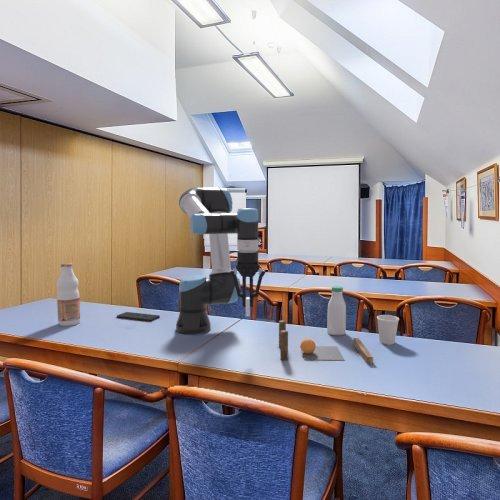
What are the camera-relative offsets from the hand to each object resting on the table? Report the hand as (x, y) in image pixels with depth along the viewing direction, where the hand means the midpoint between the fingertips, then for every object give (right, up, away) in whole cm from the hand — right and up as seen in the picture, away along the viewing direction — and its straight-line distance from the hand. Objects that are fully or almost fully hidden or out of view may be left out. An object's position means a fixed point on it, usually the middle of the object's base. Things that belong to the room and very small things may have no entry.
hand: (247, 315), depth 143 cm
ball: (+22, -11, 0) cm, 25 cm away
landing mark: (+27, -14, +1) cm, 30 cm away
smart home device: (-54, -10, +49) cm, 73 cm away
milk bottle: (+38, -12, +24) cm, 46 cm away
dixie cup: (+55, -13, +13) cm, 58 cm away
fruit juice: (-83, -10, +39) cm, 92 cm away
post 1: (+13, -13, +7) cm, 20 cm away
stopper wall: (+42, -14, 0) cm, 44 cm away
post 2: (+13, -15, -5) cm, 20 cm away
